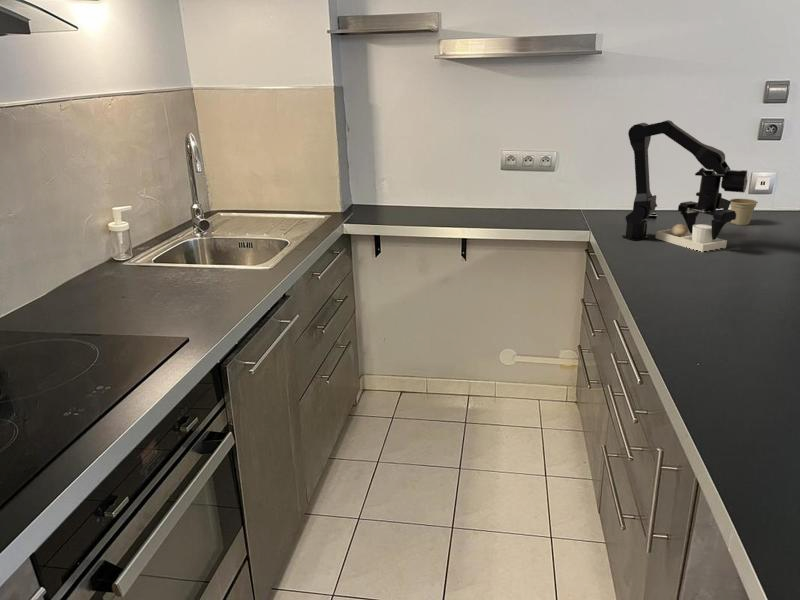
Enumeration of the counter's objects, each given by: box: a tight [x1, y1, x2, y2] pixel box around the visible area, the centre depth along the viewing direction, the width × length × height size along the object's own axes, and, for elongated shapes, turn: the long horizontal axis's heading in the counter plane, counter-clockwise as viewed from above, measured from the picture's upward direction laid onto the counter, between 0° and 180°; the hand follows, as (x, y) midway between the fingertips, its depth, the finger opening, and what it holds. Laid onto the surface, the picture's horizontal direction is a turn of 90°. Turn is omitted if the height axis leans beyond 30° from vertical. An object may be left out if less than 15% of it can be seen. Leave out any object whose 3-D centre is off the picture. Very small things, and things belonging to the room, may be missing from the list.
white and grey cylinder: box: [692, 223, 712, 244], centre depth 206 cm, size 7×7×7 cm
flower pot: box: [729, 198, 759, 226], centre depth 232 cm, size 9×9×9 cm
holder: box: [655, 228, 728, 253], centre depth 211 cm, size 11×20×2 cm, turn 23°
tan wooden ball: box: [670, 223, 689, 237], centre depth 214 cm, size 6×6×6 cm
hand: (702, 236), depth 206 cm, fingers open, 9 cm apart
